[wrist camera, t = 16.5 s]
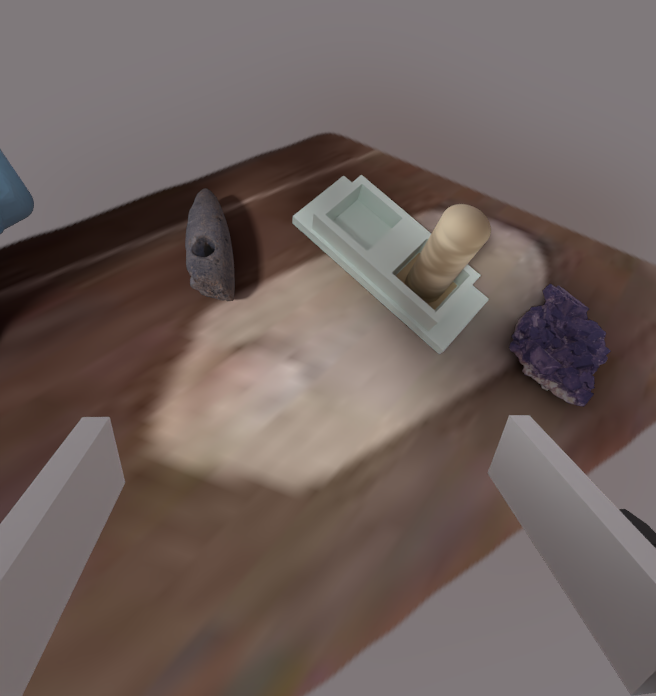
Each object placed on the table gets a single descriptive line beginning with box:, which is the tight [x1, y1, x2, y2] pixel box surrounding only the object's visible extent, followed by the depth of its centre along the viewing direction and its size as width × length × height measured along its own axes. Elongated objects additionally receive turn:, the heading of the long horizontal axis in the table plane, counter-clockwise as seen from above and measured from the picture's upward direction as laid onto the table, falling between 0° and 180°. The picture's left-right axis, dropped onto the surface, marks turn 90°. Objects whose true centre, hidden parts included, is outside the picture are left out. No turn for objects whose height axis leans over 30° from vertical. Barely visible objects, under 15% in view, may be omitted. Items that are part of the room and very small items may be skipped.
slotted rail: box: [293, 175, 489, 354], centre depth 48 cm, size 26×10×4 cm, turn 48°
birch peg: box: [405, 204, 491, 303], centre depth 42 cm, size 5×5×12 cm
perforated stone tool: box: [185, 188, 235, 301], centre depth 44 cm, size 15×5×7 cm, turn 8°
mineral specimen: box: [509, 284, 611, 407], centre depth 47 cm, size 11×14×4 cm
